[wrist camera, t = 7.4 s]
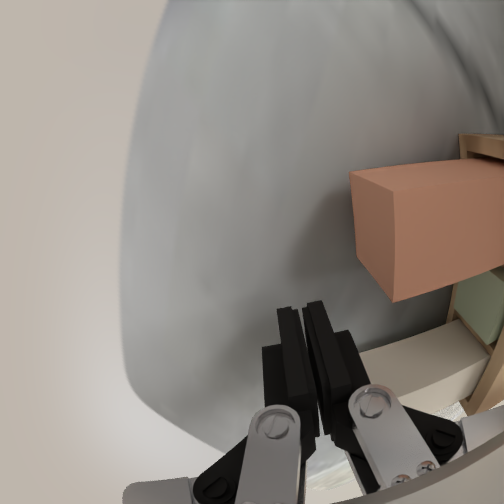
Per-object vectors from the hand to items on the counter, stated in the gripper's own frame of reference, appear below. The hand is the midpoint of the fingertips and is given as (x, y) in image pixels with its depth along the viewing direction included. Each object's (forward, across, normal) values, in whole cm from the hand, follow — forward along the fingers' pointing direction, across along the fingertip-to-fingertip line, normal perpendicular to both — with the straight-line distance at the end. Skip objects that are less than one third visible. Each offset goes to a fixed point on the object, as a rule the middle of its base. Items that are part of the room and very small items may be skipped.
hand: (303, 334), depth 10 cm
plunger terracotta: (+2, -6, -4) cm, 8 cm away
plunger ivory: (+2, -6, +5) cm, 8 cm away
